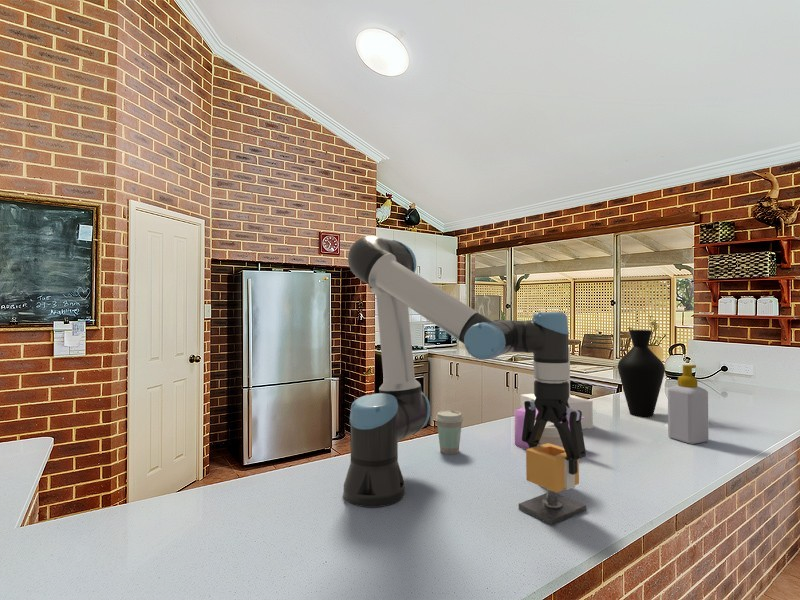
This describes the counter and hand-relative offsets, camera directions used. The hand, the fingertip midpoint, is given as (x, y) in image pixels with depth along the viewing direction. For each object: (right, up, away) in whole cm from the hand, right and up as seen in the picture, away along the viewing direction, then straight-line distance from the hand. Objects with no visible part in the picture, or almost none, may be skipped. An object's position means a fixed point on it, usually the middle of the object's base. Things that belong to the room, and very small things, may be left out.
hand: (552, 480), depth 98 cm
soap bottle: (+63, -7, +49) cm, 80 cm away
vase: (+66, -7, +82) cm, 105 cm away
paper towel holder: (+26, -7, +70) cm, 75 cm away
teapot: (+14, -7, +43) cm, 46 cm away
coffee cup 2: (+4, -7, +16) cm, 18 cm away
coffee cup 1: (-19, -7, +39) cm, 44 cm away
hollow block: (0, 0, 0) cm, 0 cm away
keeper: (0, -7, 0) cm, 7 cm away
